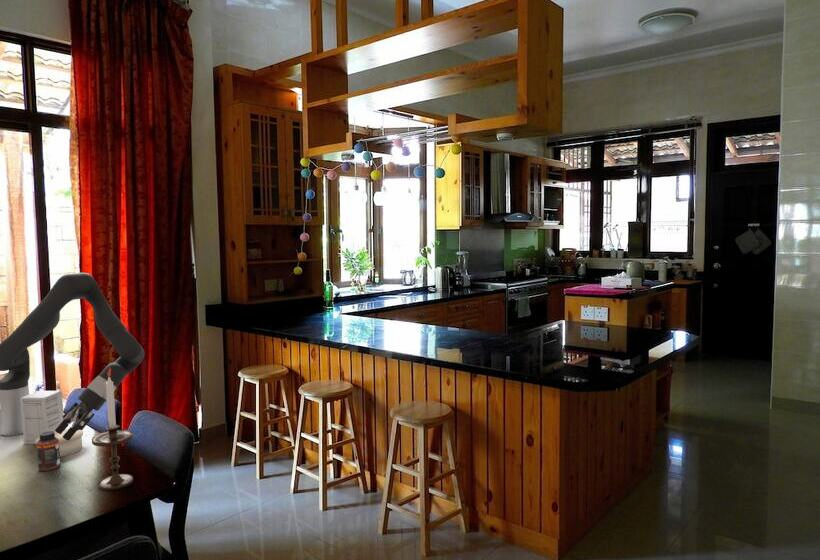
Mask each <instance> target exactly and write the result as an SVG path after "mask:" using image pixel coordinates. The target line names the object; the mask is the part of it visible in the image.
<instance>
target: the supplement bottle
mask: <svg viewBox="0 0 820 560" xmlns="http://www.w3.org/2000/svg"><path fill="white" fill-rule="evenodd" d="M36 454H37V465H38V470H39V471H41V472H45V471H47V472H48V471H52V470H56V469H57V468H59V467H60V466H61V457H60V451H59V440H58V438H56V437H55V433H54V431H47V432H43V433H41V434H40V440H39V441H38V442H37V444H36Z"/></svg>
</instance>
